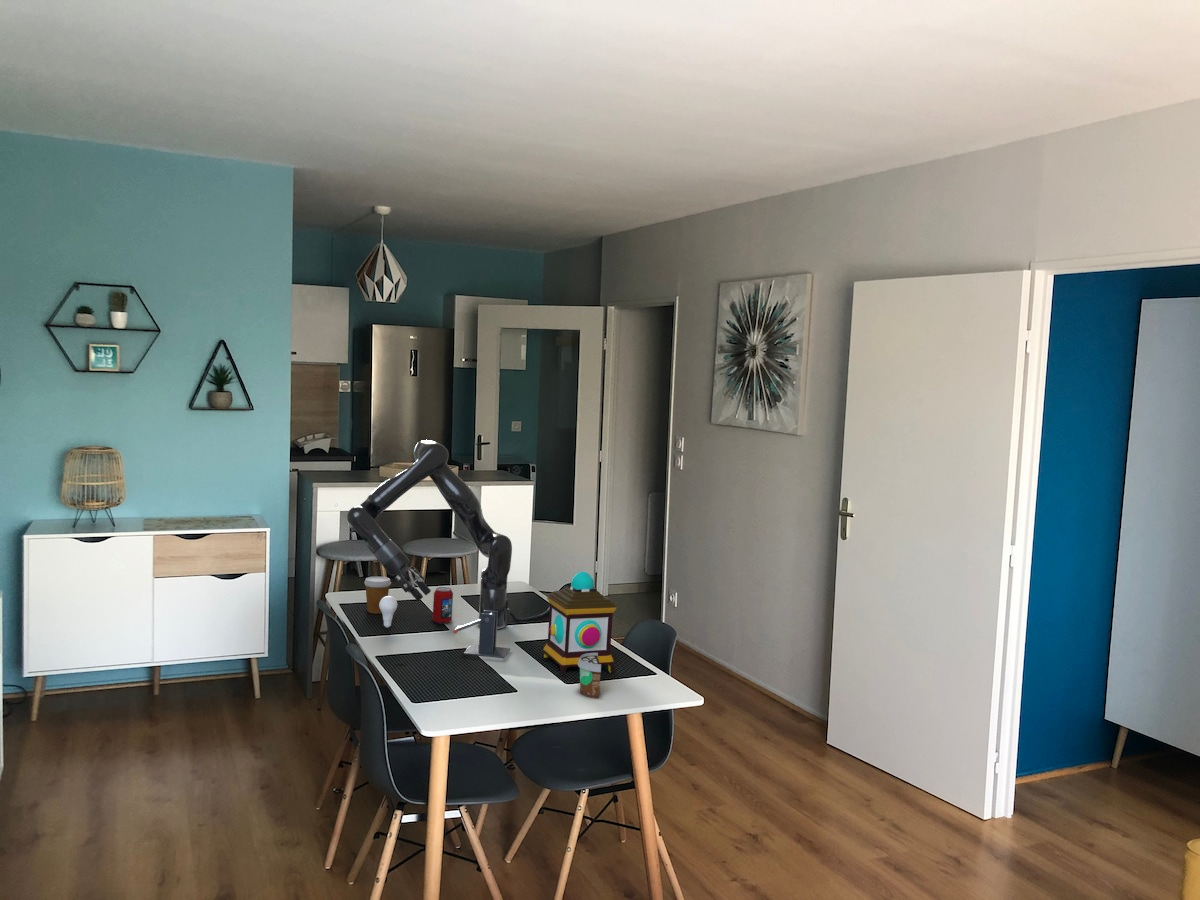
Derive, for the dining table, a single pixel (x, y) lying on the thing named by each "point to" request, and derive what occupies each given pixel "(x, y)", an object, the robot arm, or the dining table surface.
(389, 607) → the lightbulb
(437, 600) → the beverage can
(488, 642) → the bracket
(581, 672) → the food container
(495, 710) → the dining table surface
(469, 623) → the lever
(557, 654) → the decorative lantern
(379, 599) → the disposable coffee cup
